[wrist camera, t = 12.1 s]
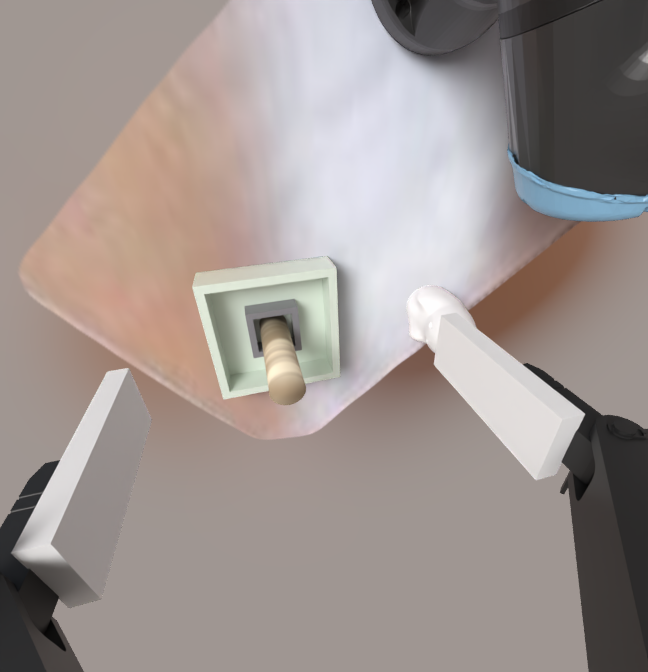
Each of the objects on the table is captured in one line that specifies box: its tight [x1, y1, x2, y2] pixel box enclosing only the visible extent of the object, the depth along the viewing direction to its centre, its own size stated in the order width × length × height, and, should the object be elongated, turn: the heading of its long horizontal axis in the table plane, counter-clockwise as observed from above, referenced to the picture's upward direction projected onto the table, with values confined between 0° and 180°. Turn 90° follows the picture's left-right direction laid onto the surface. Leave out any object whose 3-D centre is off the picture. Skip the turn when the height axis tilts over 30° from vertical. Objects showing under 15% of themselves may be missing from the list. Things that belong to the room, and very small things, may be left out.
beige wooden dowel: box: [259, 315, 306, 405], centre depth 39 cm, size 4×4×14 cm
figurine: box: [406, 285, 476, 353], centre depth 44 cm, size 7×8×12 cm
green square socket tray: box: [192, 256, 340, 399], centre depth 43 cm, size 16×16×4 cm
